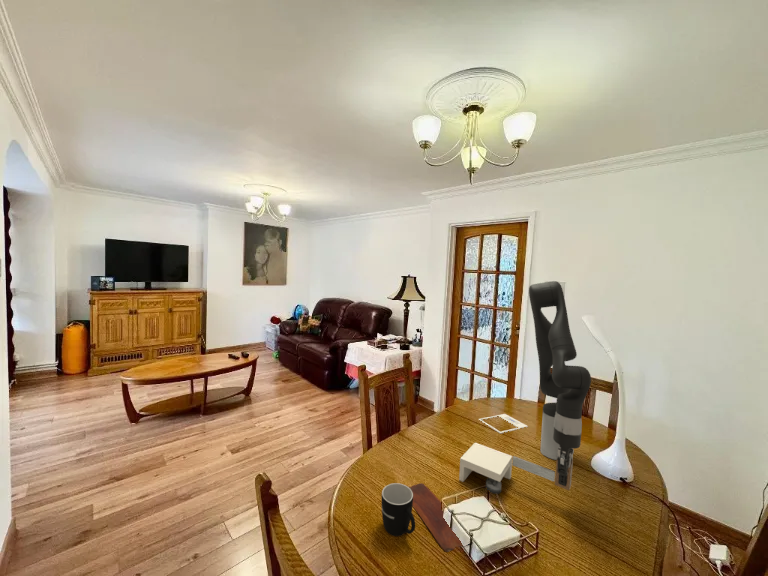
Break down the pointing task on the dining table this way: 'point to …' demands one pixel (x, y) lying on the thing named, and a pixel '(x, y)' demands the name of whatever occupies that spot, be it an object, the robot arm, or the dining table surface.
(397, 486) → the mug
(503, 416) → the photo frame
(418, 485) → the wooden tablet
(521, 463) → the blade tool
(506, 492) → the dining table surface
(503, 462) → the plinth shelf
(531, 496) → the dining table surface
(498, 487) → the token
